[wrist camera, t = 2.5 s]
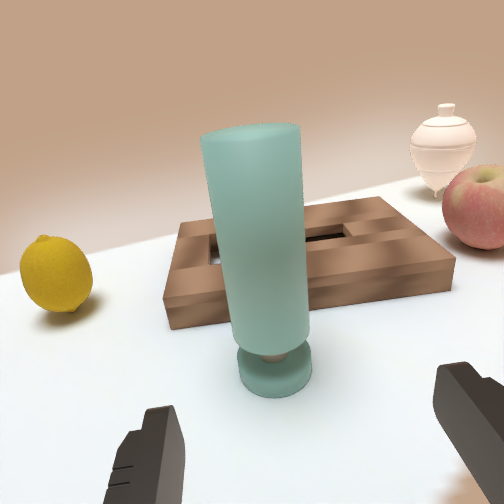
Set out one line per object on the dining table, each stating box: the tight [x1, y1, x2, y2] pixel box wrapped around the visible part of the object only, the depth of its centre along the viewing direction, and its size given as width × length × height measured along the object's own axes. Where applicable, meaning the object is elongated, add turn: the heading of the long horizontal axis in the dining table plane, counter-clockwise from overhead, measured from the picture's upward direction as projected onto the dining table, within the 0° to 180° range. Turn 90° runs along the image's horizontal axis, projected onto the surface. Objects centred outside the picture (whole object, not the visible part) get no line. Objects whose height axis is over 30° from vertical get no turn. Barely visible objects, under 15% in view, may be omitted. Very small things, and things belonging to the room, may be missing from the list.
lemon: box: [20, 235, 93, 312], centre depth 33 cm, size 6×6×8 cm
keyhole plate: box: [163, 196, 456, 330], centre depth 37 cm, size 24×16×3 cm, turn 95°
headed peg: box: [200, 123, 312, 398], centre depth 22 cm, size 5×5×16 cm
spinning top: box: [409, 104, 477, 198], centre depth 47 cm, size 8×8×12 cm
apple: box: [442, 165, 504, 250], centre depth 36 cm, size 8×8×8 cm
